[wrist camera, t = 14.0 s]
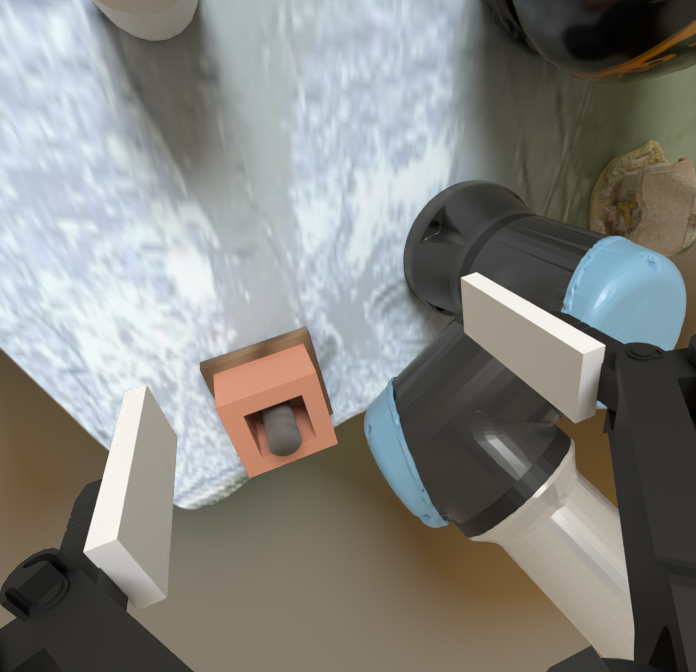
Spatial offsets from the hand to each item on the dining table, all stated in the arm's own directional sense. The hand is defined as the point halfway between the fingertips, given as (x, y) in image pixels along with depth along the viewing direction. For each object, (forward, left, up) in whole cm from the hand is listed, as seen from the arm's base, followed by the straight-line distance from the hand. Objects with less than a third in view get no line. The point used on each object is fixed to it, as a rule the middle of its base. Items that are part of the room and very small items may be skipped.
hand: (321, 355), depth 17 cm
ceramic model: (-45, +11, -27) cm, 54 cm away
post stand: (+4, +19, -27) cm, 33 cm away
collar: (+4, +19, -25) cm, 32 cm away
